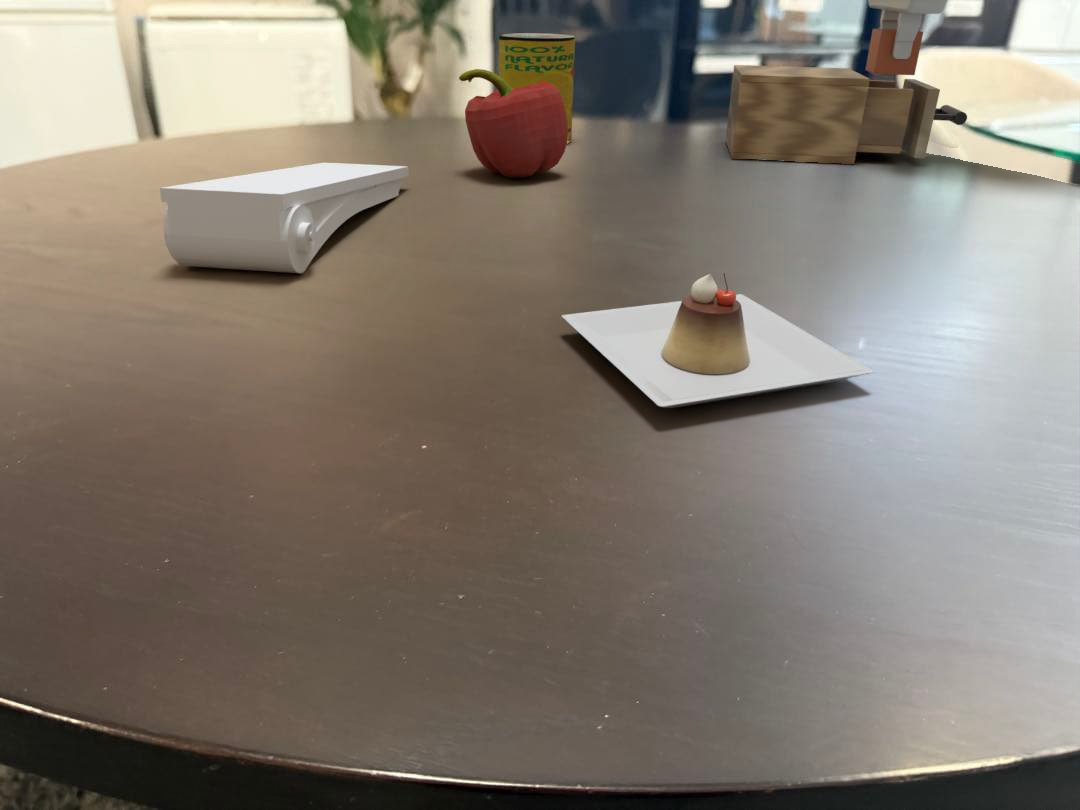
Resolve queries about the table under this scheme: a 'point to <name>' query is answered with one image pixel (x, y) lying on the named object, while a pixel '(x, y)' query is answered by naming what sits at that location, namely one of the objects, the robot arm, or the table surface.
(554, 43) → the beverage can
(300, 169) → the wall bracket
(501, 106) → the vegetable
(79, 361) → the table surface
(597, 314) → the dessert
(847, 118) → the cabinet
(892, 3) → the robot arm
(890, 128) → the drawer
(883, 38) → the block
